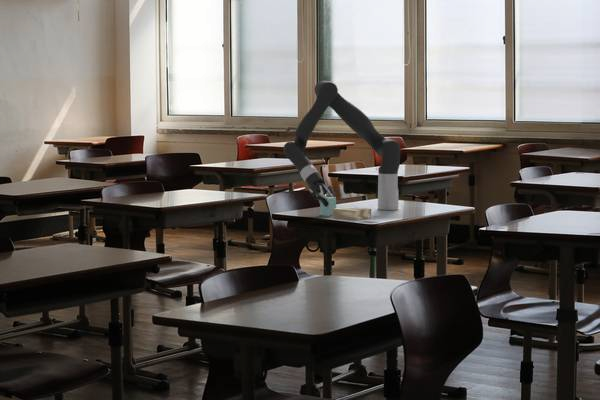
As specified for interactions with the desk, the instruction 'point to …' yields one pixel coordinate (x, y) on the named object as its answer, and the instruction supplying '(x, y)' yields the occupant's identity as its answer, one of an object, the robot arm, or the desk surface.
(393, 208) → the robot arm
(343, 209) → the block
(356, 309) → the desk surface
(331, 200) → the teal block
